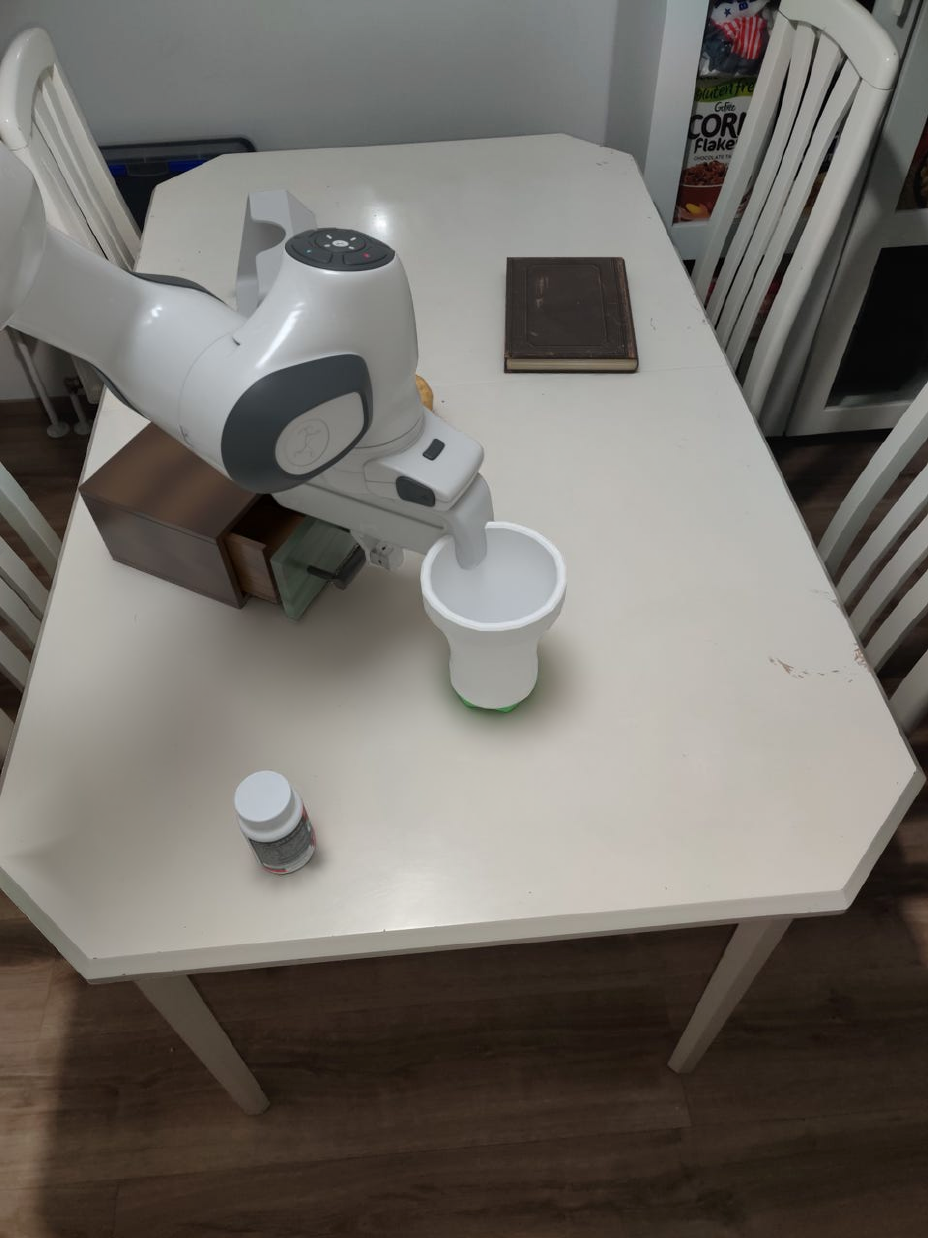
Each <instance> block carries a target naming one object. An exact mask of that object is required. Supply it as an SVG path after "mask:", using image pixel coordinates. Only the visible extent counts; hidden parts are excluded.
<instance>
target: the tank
mask: <svg viewBox="0 0 928 1238" xmlns="http://www.w3.org/2000/svg"><path fill="white" fill-rule="evenodd" d="M317 228H319V227H318V223H317V217H316V213H315V212H313V211H312V210H311V209H310V208H309V207H308V206H306V205H305V204H304V203H303V202H302V201H300V199H298V198H297V197H296V196H295V195H294V194H292V193H291V192H290V191H289V190H288V189H287V188H279V189H271V190H264V191H263V190H262V191H254V192H248V194H247V199H246V205H245V212H244V220H243V226H242V234H241V241H240V248H239V256H238V262H237V268H236V269H237V270H236V276H235V277H236V278H235V301H236V311H238V312H240V313H241V314H243V315H245V316H246V317H248V318H250V317H251V316H252V314H253V313H254V312H255V311H256V310H257V308H258V307H259V306H260V304H261V303H262V301H263V300H264V298H265V297H266V295H267V294H268V292H269V290H270V288H271V286H272V284H273V283H274V281H275V279H276V276H277V274H278V272H279V268H280V263H281V256H282V250H283V246H284V244H285V243H286V241H287V240H288V239H290V238H291V237H293V236H295V235H297V234H300V233H302V232H304V231H307V230H311V229H317Z"/></svg>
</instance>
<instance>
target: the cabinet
mask: <svg viewBox="0 0 928 1238" xmlns="http://www.w3.org/2000/svg"><path fill="white" fill-rule="evenodd" d="M77 490H78V493H79V495H80V497H81V499H82V500H83V503H84V505H85V507H86V509H87V512H88V513H89V515H90V517H91V519H92V521H93V523H94V524H95V526H96V529H97V531H98V533H99V536H100V537H101V539H102V541H103V543H104V545H105V546H106V549H107V551H108V553H109V554H110V557H111V559H112V560H113V561H115V562H118V563H121V564H124V565H126V566H129V567H132V568H134V569H136V570H138V571H141V572H144V573H147V574H148V575H151V576H154V577H157V578H159V579H162V580H165V581H167V582H170V583H172V584H174V585H177V586H179V587H182V588H185V589H187V590H189V591H192V592H195V593H197V594H200V595H202V596H205V597H206V598H210V599H213V600H215V601H218V602H220V603H223V604H226V605H228V606H231V607H233V608H236V609H238V610H241V609H242V608H244V606H245V605H246V603H247V602H248V601H249V600H250V599H251V598H252V597H253V596H254V595H253V594H250V593H247V592H245V591H242V590H240V588H239V585H238V582H237V579H236V576H235V574H234V571H233V568H232V565H231V562H230V559H229V556H228V553H227V551H226V548H225V545H224V542H223V540H222V539H223V538H224V537H225V536H226V535H227V534H228V533H229V531H230V530H231V529H232V528H233V527H234V526H235V525H236V524H237V523H238V522H239V520H240V519H241V518H242V517H243V516H244V515H245V514H246V513H247V512H248V511H249V509H250V508H251V507H252V506H253V505H254V504H255V503H256V502H257V501H258V500H259V498H260V497H261V496H262V495H263V494H260V493H254V492H250V491H248V490H245V489H243V488H242V487H240V486H239V485H237V484H236V483H235V482H233V481H232V480H230V479H229V478H227V477H226V476H224V475H223V474H222V473H220V472H219V471H218V470H216V469H215V468H213V467H212V466H211V465H209V464H208V463H207V462H205V461H204V460H203V459H201V458H200V457H199V456H197V455H196V454H195V453H193V452H192V451H191V450H189V449H188V448H187V447H185V446H184V445H183V444H181V443H180V442H179V441H177V440H176V439H175V438H173V437H172V436H171V435H169V434H168V433H167V432H165V431H164V430H163V429H161V428H160V427H159V426H157V425H156V424H155V423H153V422H151V421H150V422H149V423H148V424H147V425H145V427H143V428H142V429H141V430H139V432H138V433H136V434H135V435H134V436H133V437H132V438H131V439H130V440H129V441H128V442H127V443H126V444H124V445H123V446H122V447H121V448H120V449H119V450H117V452H116V453H115V454H113V455H112V456H111V457H110V458H109V459H108V460H107V461H105V463H103V464H102V465H101V466H100V467H99V468H98V469H97V470H95V472H93V474H91V475H90V476H89V477H88V478H87V479H85V481H84V482H83V483H82V484H80V485H79V486H78V487H77Z"/></svg>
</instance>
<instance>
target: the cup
mask: <svg viewBox="0 0 928 1238" xmlns="http://www.w3.org/2000/svg"><path fill="white" fill-rule="evenodd" d="M485 532H486V539H487V554H486V556H485V558H484V559H483V560H482V562H481V563H480V564H479V565H478V566H476V567H475V568H473V569H471V570H465V569H462V568H461V567H460V566H459V564H458V562H457V559H456V552H455V541H454V538H453V537H452V536H451V535H449V534H447V535H445V536H443V537H442V538H440V539H438V541H437V542H436V543H435V544H434V545H433V546H432V548H431V549H430V550H429V551H428V553H427V555H426V556H424V559H423V561H422V563H421V568H420V575H419V576H420V577H419V579H420V587H421V594H422V595H421V596H422V601H423V607H424V611H425V612H426V614H427V616H428V617H429V619H430V620H431V621H432V623H433V624H434V625H435V627H437V628H438V629H439V630H440V631H441V632H442V633H443V634H444V636H445V638H446V640H447V642H448V646H449V650H450V655H449V664H448V667H449V678H450V683H451V685H452V687H453V689H454V691H455V692H456V693H457V695H458V697H459V698H460V699H461V701H462V702H463V704H464V705H466V706H467V707H469V708H471V707H472V708H473V707H474V708H476V707H477V708H482V709H491V710H497V711H500V712H504V713H508V712H511V711H512V710H513V709H514V708H515V707H517V706H518V705H519V704H520V703H521V702H522V701H523V700H524V699H525V698H527V697H528V696H529V695H530V694H531V692H533V690H534V688H535V687H536V685H537V680H538V672H539V671H538V670H539V659H538V654H537V652H538V646H539V642H540V641H541V639H542V636H543V635H544V634H545V633H546V632H547V631H549V630H550V629H551V628H552V626H553V625H554V624H555V622H556V620H557V619H558V618H559V616H560V615H561V612H562V609H563V606H564V603H565V601H566V594H567V586H568V568H567V564H566V561H565V559H564V554H563V553H562V552H561V551H560V550H559V548H558V547H557V546H555V544H554V543H553V542H552V541H551V540H550V539H548V538H546V536H544V535H542V533H540V532H538V531H536V530H533V529H532V528H530V527H527V526H525V525H521V524H517V523H514V522H509V521H494V522H487V524H486V526H485Z"/></svg>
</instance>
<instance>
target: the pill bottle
mask: <svg viewBox="0 0 928 1238" xmlns="http://www.w3.org/2000/svg"><path fill="white" fill-rule="evenodd" d="M233 804H234V808H235V810H236V819H237V825H238V827H239V829H240V831H241V833H242V835H243V837H244V838H245V840H246V842H247V844H248V846H249V847H250V850H251V852H252V854H253V855H254V857H255V859H256V861H257V863H258V864H259V865H260V866H261V868H262V869H264V870H266V871H268V872H270V873H273V874H280V875H283V874H288V873H289V874H290V873H292V872H294V871H297V870H299V869H300V868H303V866H305V865H306V863H307V862H309V860H310V859H311V858H312V856H313V855H314V851H315V849H316V842H317V839H316V834H315V830H314V828H313V825H312V822H311V820H310V818H309V815H308V811H307V810H306V807H305V804H304V802H303V799H302V797H301V794H300V793H299V792H298V790H297V789H296V788H295V787H294V786H292V785H291V784H290V782H289V781H288V779H287V778H286V777H285V776H284V775H283V774H281V773H280V772H277V771H274V770H267V769H266V770H260V771H256V772H253V773H251V774H249V775H248V776H246V777H245V778H243V779H242V781H241V782H240V783H239V784H238V786H237V787H236V790H235V792H234V795H233Z"/></svg>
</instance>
